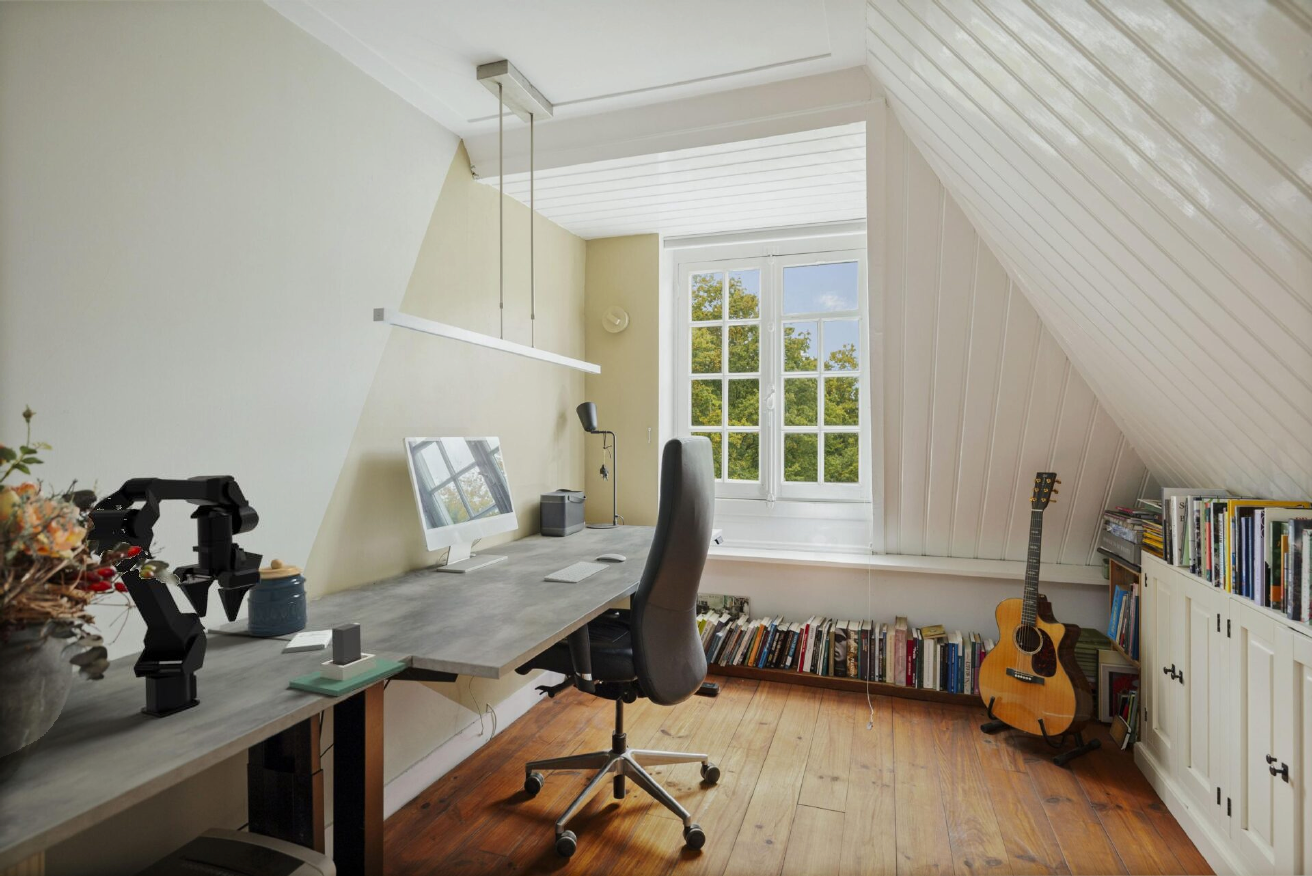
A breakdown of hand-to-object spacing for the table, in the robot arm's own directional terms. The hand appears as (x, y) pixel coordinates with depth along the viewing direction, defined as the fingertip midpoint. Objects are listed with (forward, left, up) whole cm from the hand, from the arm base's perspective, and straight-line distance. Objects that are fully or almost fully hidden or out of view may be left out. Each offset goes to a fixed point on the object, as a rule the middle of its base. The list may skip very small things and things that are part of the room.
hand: (217, 619), depth 132 cm
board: (+11, -23, -12) cm, 28 cm away
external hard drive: (+24, +5, -13) cm, 28 cm away
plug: (+11, -23, -11) cm, 28 cm away
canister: (+29, +23, -12) cm, 39 cm away
